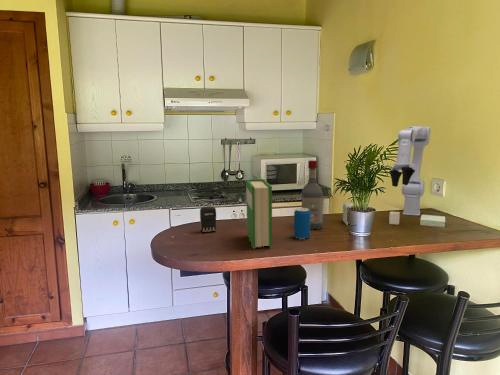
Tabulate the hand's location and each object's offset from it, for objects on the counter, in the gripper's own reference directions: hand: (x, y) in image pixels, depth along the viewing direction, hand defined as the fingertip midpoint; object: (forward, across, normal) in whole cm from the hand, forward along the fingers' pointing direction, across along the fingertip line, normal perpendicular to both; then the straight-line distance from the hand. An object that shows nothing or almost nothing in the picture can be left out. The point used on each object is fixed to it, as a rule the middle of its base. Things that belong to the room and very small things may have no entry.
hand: (399, 185), depth 172 cm
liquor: (+25, -14, -32) cm, 43 cm away
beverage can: (+31, 0, -41) cm, 51 cm away
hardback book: (+36, 0, -58) cm, 69 cm away
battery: (+36, -19, -77) cm, 87 cm away
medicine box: (+20, -15, -14) cm, 28 cm away
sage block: (+13, -4, +22) cm, 25 cm away
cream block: (+16, -9, +6) cm, 19 cm away
